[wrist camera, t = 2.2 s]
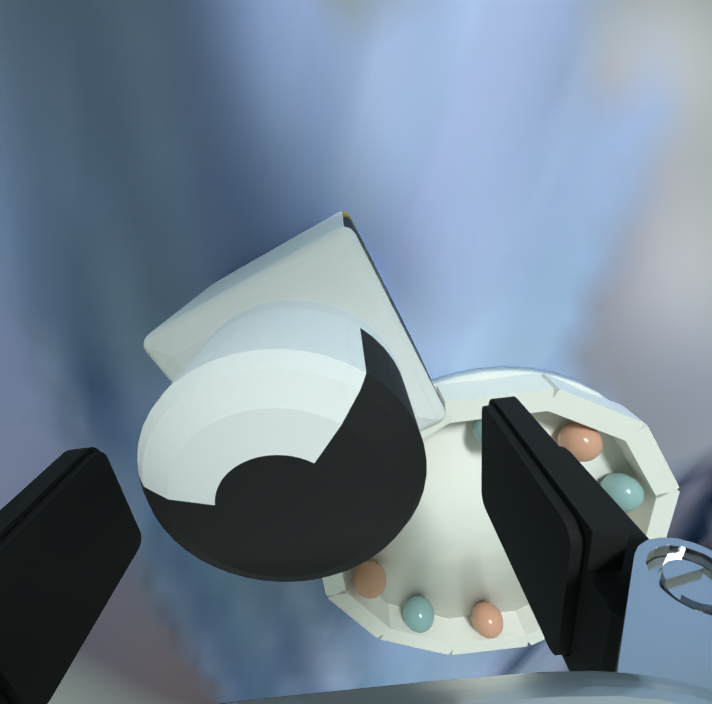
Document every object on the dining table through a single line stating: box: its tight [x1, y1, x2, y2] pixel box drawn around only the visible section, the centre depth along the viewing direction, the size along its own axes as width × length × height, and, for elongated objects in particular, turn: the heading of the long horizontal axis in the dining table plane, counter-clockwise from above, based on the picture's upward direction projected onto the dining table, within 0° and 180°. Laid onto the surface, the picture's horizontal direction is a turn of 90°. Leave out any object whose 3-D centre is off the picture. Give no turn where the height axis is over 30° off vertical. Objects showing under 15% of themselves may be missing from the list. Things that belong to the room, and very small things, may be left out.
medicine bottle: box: [137, 211, 445, 582], centre depth 13 cm, size 7×7×12 cm
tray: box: [322, 367, 679, 655], centre depth 23 cm, size 20×20×3 cm
